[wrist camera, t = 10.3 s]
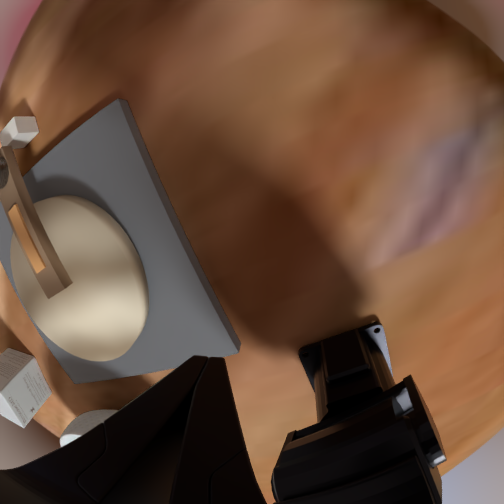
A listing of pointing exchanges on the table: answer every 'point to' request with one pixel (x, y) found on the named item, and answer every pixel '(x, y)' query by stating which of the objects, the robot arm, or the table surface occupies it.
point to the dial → (74, 269)
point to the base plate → (141, 235)
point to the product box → (21, 386)
